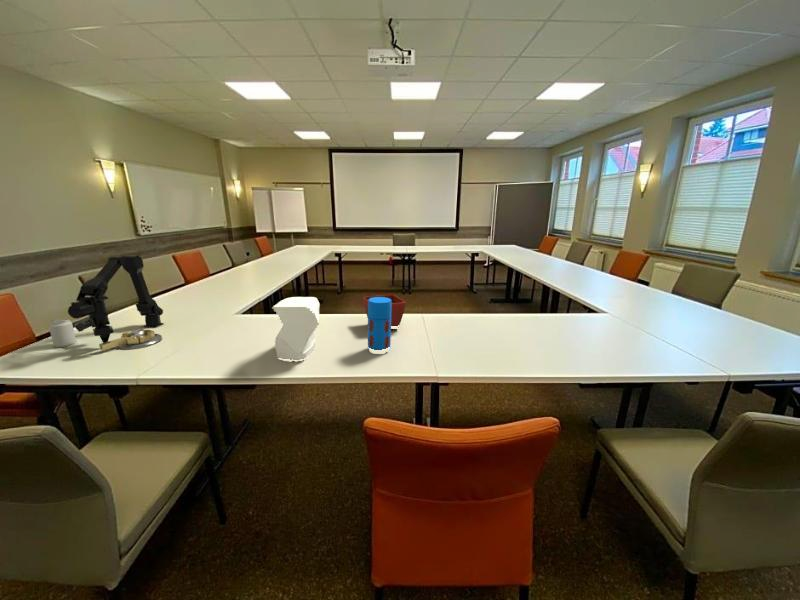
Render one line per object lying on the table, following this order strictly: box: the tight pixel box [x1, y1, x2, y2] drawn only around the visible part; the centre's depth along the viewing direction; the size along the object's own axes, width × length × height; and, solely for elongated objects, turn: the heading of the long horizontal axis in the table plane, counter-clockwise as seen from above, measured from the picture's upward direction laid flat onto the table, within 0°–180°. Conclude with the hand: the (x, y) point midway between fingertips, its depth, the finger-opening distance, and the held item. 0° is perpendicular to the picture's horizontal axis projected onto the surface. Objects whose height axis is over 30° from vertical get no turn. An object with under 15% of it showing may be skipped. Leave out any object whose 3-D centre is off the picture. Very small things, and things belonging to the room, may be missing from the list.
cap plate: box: [114, 329, 163, 351], centre depth 158 cm, size 18×18×6 cm
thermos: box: [367, 297, 392, 350], centre depth 155 cm, size 11×11×25 cm
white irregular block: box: [271, 296, 321, 360], centre depth 149 cm, size 21×27×26 cm
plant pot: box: [362, 294, 406, 326], centre depth 187 cm, size 19×19×17 cm
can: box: [48, 318, 77, 348], centre depth 151 cm, size 8×8×12 cm
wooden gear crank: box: [99, 327, 156, 351], centre depth 154 cm, size 20×12×4 cm, turn 154°
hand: (105, 343), depth 150 cm, fingers closed
